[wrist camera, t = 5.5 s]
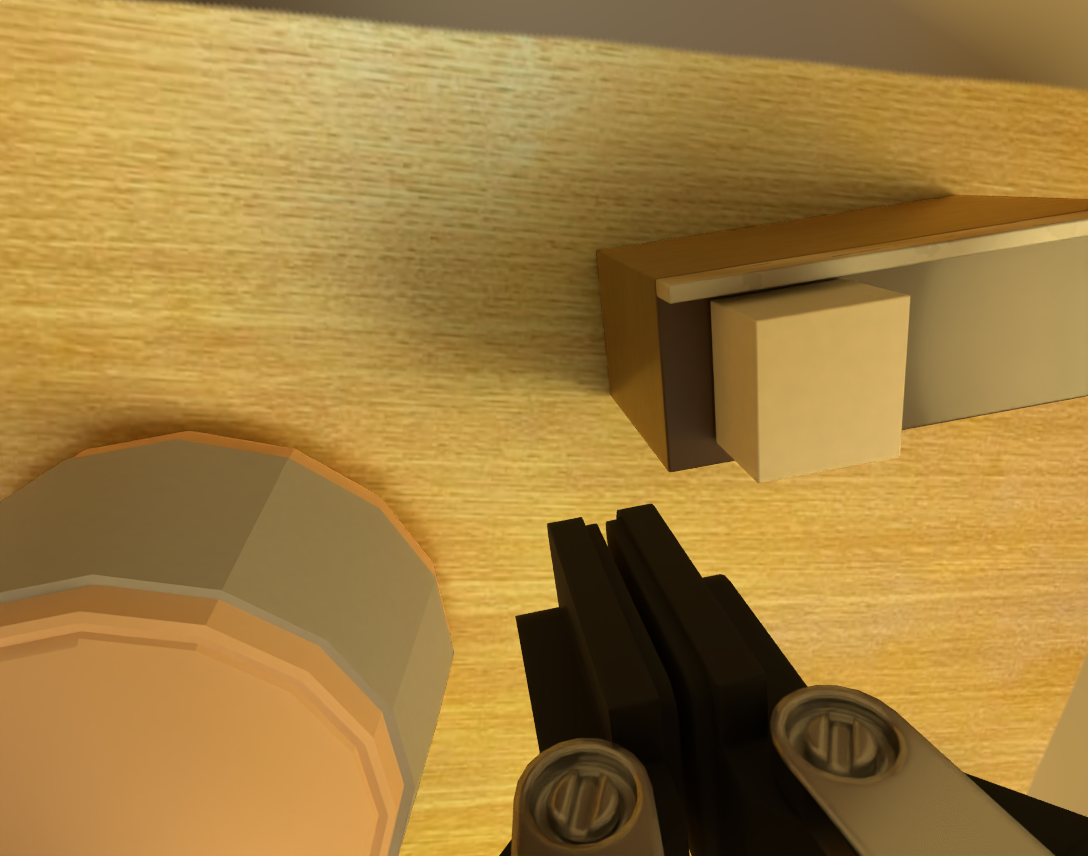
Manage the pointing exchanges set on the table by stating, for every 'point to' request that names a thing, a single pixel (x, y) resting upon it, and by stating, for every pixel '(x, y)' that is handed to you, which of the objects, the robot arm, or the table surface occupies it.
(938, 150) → the table surface
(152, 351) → the table surface
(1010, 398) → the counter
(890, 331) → the tan block
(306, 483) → the desk lamp
